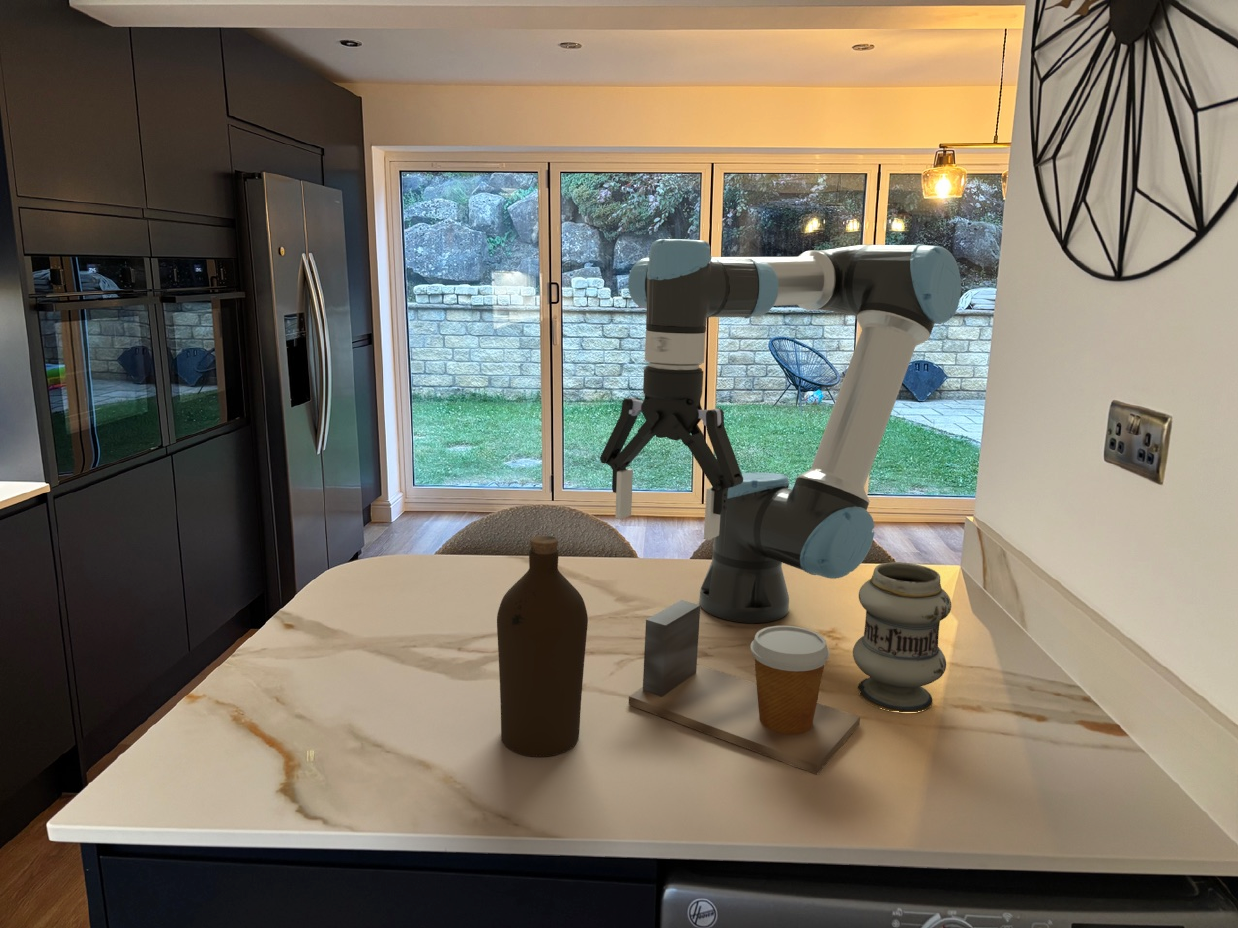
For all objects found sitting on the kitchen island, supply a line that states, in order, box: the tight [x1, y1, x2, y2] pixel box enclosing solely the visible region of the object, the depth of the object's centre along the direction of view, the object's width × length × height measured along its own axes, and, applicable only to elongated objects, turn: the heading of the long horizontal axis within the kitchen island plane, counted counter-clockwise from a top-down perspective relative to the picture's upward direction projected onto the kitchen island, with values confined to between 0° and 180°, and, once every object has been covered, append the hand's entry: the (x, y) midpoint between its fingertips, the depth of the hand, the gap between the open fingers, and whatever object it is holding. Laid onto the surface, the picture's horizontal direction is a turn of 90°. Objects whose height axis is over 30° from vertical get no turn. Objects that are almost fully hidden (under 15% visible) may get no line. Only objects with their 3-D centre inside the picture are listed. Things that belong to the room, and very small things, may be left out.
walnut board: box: [628, 599, 861, 775], centre depth 111 cm, size 26×14×11 cm, turn 55°
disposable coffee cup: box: [750, 625, 831, 735], centre depth 108 cm, size 10×10×12 cm
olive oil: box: [496, 535, 589, 758], centre depth 103 cm, size 11×11×25 cm
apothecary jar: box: [852, 561, 952, 712], centre depth 118 cm, size 12×12×18 cm
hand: (665, 527), depth 115 cm, fingers open, 13 cm apart
